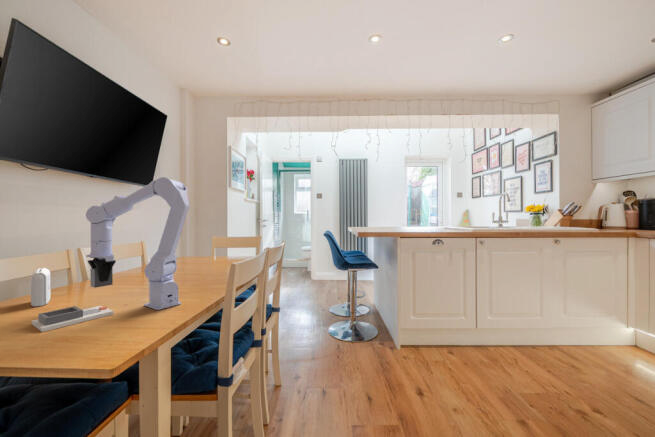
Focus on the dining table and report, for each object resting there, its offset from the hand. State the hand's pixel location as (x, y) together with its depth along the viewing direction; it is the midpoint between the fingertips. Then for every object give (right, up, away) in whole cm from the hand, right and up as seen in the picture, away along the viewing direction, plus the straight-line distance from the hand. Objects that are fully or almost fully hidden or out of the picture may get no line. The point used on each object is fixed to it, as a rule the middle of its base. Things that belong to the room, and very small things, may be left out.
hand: (101, 280), depth 95 cm
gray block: (0, -2, 0) cm, 2 cm away
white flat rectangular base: (+2, -9, -13) cm, 16 cm away
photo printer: (-24, -9, +2) cm, 25 cm away
